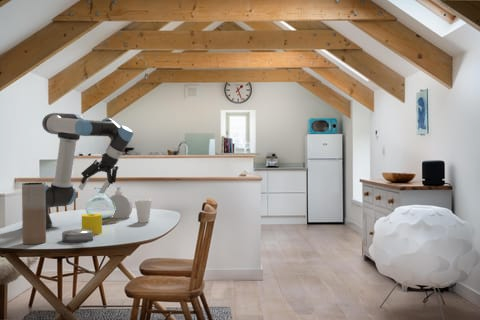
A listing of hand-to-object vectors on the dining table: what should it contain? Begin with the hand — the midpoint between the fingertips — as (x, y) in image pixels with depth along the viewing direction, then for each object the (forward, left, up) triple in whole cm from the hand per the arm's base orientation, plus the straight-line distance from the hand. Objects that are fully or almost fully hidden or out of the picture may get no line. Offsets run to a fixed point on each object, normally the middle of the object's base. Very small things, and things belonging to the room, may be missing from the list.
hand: (91, 190), depth 228 cm
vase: (+1, -27, -23) cm, 35 cm away
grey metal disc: (+6, -9, -23) cm, 25 cm away
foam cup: (-26, +38, -23) cm, 52 cm away
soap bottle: (-51, +32, -23) cm, 64 cm away
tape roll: (-8, +2, -23) cm, 24 cm away
